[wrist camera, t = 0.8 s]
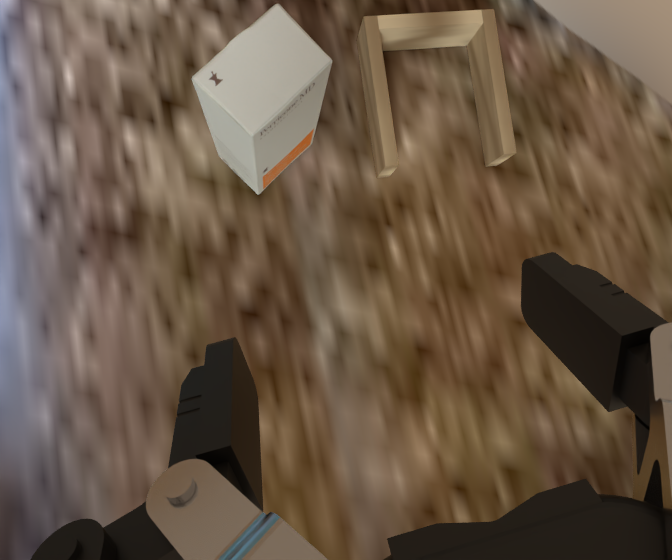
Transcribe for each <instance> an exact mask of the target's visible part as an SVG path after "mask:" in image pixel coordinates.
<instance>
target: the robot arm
mask: <svg viewBox="0 0 672 560" xmlns="http://www.w3.org/2000/svg"><path fill="white" fill-rule="evenodd" d="M521 309H522V313H523V316H524V319H525V321H526V323H527V324H528V326H529V327H530V328H531V329H532V330H533V331H534V333H535V334H536V335H537V336H538V337H539V338H540V339H541V340H542V341H543V342H544V343H545V344H546V345H547V346H548V348H549V349H550V350H551V351H552V352H553V353H554V354H555V355H556V356H557V357H558V358H559V359H560V360H561V361H562V363H563V364H564V365H565V366H566V367H567V368H568V369H569V370H570V371H571V372H572V373H573V374H574V375H575V377H576V378H577V379H578V380H579V381H580V382H581V383H582V384H583V385H584V386H585V387H586V388H587V389H588V390H589V392H590V393H591V394H592V395H593V396H594V397H595V398H596V399H597V400H598V401H599V402H600V403H601V404H602V406H603V407H604V408H605V409H606V410H607V411H608V412H610V411H614V410H617V409H620V408H624V407H627V406H628V407H629V408H630V409H631V410H632V411H633V412H634V413H633V418H632V451H633V499H632V498H628V497H622V496H617V495H605V494H597V493H596V492H595V490H594V489H593V488H592V486H591V485H590V484H589V482H588V481H587V480H586V479H583V480H580V481H577V482H573V483H570V484H567V485H563V486H560V487H557V488H553V489H550V490H547V491H544V492H540V493H537V494H536V495H534V496H533V497H531V498H530V499H528V500H527V501H525V502H524V503H522V504H521V505H519V506H518V507H516V508H515V509H513V510H512V511H510V512H509V513H507V514H506V515H504V516H503V517H501V518H500V519H498V520H496V521H492V522H472V523H439V524H434V525H430V526H427V527H424V528H420V529H417V530H414V531H411V532H407V533H404V534H401V535H397V536H394V537H391V538H387V540H388V544H389V548H390V552H391V555H390V556H388V557H387V558H385V559H384V560H672V323H668V322H667V321H666V320H664V319H663V318H661V317H660V316H659V315H657V314H656V313H654V312H653V311H652V310H650V309H649V308H647V307H646V306H645V305H643V304H642V303H640V302H639V301H638V300H636V299H635V298H633V297H632V296H631V295H629V294H628V293H624V290H622V289H621V288H619V287H618V286H617V285H615V284H612V282H611V281H610V280H608V279H607V278H605V277H604V276H603V275H601V274H600V273H598V272H597V271H594V270H591V269H589V268H586V267H583V266H580V265H577V264H576V265H571V264H570V263H569V262H567V261H566V260H565V259H563V258H562V257H560V256H559V255H558V254H556V253H554V252H551V253H547V254H543V255H540V256H536V257H532V258H529V259H525V260H524V262H523V264H522V286H521ZM179 402H180V404H178V410H177V416H178V417H176V423H175V429H174V435H173V442H172V448H171V454H170V460H169V467H168V469H167V470H166V471H164V472H163V473H162V474H161V475H160V476H159V477H158V478H157V479H156V481H155V482H154V483H153V485H152V486H151V488H150V490H149V493H148V496H147V500H146V502H144V503H143V504H142V505H141V506H139V507H138V508H136V509H134V510H133V511H131V512H129V513H128V514H126V515H124V516H123V517H121V518H119V519H117V520H116V521H114V522H112V523H111V524H109V525H107V526H105V527H104V528H103V527H102V526H101V525H100V524H99V523H98V522H97V521H95V520H92V519H80V520H76V521H73V522H71V523H68V524H66V525H65V526H63V527H61V528H60V529H58V530H57V531H55V532H54V533H53V534H52V535H50V536H49V537H48V538H47V539H46V540H45V541H44V542H43V543H42V544H41V546H40V547H39V548H38V549H37V550H36V552H35V553H34V555H33V556H32V558H31V560H328V559H327V558H326V557H324V556H323V555H322V554H321V553H320V552H319V551H318V550H316V549H315V548H314V547H313V546H312V545H311V544H310V543H309V542H307V541H306V540H305V539H304V538H303V537H302V536H301V535H300V534H298V533H297V532H296V531H295V530H294V529H293V528H292V527H291V526H289V525H288V524H287V523H286V522H285V521H284V520H283V519H281V518H280V517H279V516H278V515H276V514H274V513H272V512H270V513H269V514H268V515H266V514H264V513H263V496H262V474H261V452H260V431H259V409H258V396H257V391H256V387H255V383H254V380H253V377H252V375H251V372H250V370H249V367H248V365H247V362H246V360H245V357H244V355H243V352H242V350H241V347H240V345H239V343H238V341H237V339H236V338H235V337H234V338H231V339H227V340H223V341H219V342H216V343H212V344H208V345H207V347H206V355H205V365H204V366H200V367H196V368H193V369H191V371H190V372H189V374H188V375H187V377H186V379H185V380H184V382H183V383H182V385H181V392H180V398H179Z"/></svg>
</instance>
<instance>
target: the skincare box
mask: <svg viewBox="0 0 672 560" xmlns="http://www.w3.org/2000/svg"><path fill="white" fill-rule="evenodd" d="M331 65H332V59H331V58H330V57H329V56H328V55H327V54H326V53H325V52H324V51H323V50H322V49H321V48H320V47H319V46H318V45H317V44H316V42H315V41H314V40H313V39H312V38H311V37H310V36H309V35H308V34H307V33H306V32H305V31H304V30H303V29H302V28H301V26H300V25H299V24H298V23H297V22H296V21H295V20H294V19H293V18H292V17H291V16H290V15H289V14H288V13H287V12H286V11H285V10H284V8H283V7H282V6H281V5H280V4H275V5H274V6H272V7H271V8H270V9H269V10H268V11H267V12H266V13H264V14H263V15H262V16H261V17H260V18H259V19H258V20H256V21H255V22H254V23H253V24H252V25H251V26H250V27H248V28H247V29H245V30H244V31H242V32H241V33H240V34H238V35H237V36H236V37H235V38H233V39H232V40H231V41H230V42H229V43H228V44H227V46H226V47H225V48H224V49H223V50H222V51H221V52H219V53H218V54H217V55H216V56H215V57H214V58H213V59H212V60H211V61H209V62H208V63H207V64H206V65H205V66H204V67H203V68H202V69H200V70H199V71H198V72H197V73H196V74H195V75H194V76H193V77H192V81H193V84H194V87H195V89H196V92H197V94H198V98H199V100H200V103H201V106H202V109H203V112H204V115H205V118H206V121H207V124H208V127H209V129H210V132H211V135H212V137H213V140H214V143H215V146H216V149H217V152H218V155H219V157H220V158H221V159H222V160H223V161H224V162H225V163H226V164H227V165H228V166H229V167H230V168H231V169H232V170H233V171H234V172H235V173H236V174H237V175H238V176H239V177H240V178H241V179H242V180H243V181H244V182H245V183H246V184H248V185H249V186H250V187H251V188H252V189H253V190H254V191H255V193H256V194H258V195H259V194H260V193H261V192H262V191H263V190H264V189H265V188H266V187H267V186H268V185H269V184H270V183H271V182H272V181H273V180H274V179H275V178H276V177H277V176H278V175H279V174H280V173H281V172H282V171H283V170H284V169H285V168H286V167H288V166H289V165H290V164H291V163H292V162H293V161H294V160H295V159H296V158H297V157H298V156H300V155H301V154H302V153H303V152H304V151H305V150H306V149H307V148H308V147H309V146H310V145H311V144H312V143H313V138H314V135H315V130H316V126H317V122H318V118H319V114H320V110H321V106H322V102H323V98H324V94H325V90H326V85H327V81H328V77H329V73H330V69H331Z"/></svg>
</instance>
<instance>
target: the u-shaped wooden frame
mask: <svg viewBox="0 0 672 560" xmlns="http://www.w3.org/2000/svg"><path fill="white" fill-rule="evenodd" d="M356 41H357V47H358V54H359V61H360V68H361V75H362V82H363V89H364V96H365V103H366V110H367V117H368V123H369V130H370V137H371V144H372V151H373V158H374V165H375V172H376V178H382V177H389V176H390V175H391V174H392V173H393V171H394V170H395V169H396V168H397V167H398V166H399V161H398V154H397V147H396V140H395V134H394V127H393V120H392V113H391V106H390V100H389V93H388V86H387V79H386V72H385V66H384V59H383V52H382V51H394V50H409V49H424V48H439V47H453V46H467V51H468V57H469V64H470V70H471V77H472V83H473V90H474V96H475V102H476V109H477V115H478V122H479V128H480V135H481V141H482V148H483V154H484V161H485V167H487V166H496V165H498V164H500V163H502V162H503V161H505V160H506V159H508V158H509V157H511V156H512V155H514V154H516V147H515V140H514V134H513V128H512V121H511V115H510V109H509V102H508V96H507V89H506V83H505V77H504V70H503V64H502V58H501V51H500V45H499V39H498V32H497V26H496V20H495V13H494V9H486V10H468V11H450V12H432V13H414V14H397V15H379V16H364V17H363V20H362V24H361V27H360V30H359V34H358V37H357V40H356Z"/></svg>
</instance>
